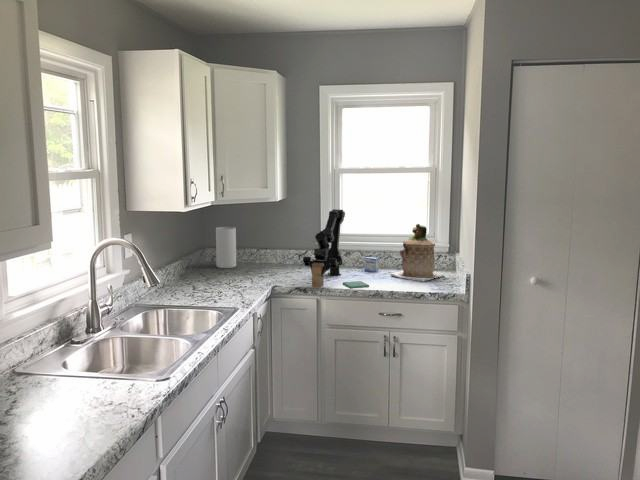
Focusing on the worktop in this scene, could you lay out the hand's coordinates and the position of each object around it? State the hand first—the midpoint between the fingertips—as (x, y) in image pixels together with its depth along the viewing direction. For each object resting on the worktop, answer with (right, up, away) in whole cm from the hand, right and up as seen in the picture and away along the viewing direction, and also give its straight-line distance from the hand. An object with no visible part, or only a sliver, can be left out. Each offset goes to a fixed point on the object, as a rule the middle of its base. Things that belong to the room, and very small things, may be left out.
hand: (317, 274), depth 296 cm
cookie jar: (+60, -3, +30) cm, 67 cm away
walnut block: (0, -6, +2) cm, 7 cm away
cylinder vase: (-58, +1, +56) cm, 81 cm away
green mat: (+21, -6, +5) cm, 23 cm away
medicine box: (+34, -1, +45) cm, 56 cm away
